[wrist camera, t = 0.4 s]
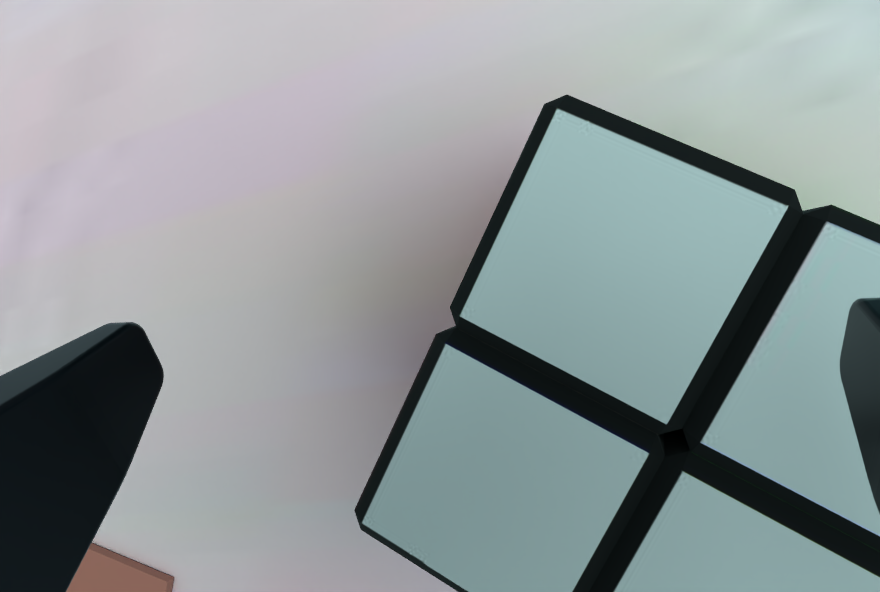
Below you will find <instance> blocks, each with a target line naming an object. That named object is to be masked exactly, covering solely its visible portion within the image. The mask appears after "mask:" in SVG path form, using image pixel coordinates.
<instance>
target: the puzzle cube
mask: <svg viewBox="0 0 880 592" xmlns="http://www.w3.org/2000/svg"><path fill="white" fill-rule="evenodd" d="M878 297H880V225H879V224H876V223H874V222H872V221H869V220H867V219H864V218H862V217H860V216H857V215H855V214H852V213H850V212H848V211H845V210H843V209H840V208H838V207H836V206H833V205H829V206H824V207H819V208H815V209H810V210H805V211H802V209H801V206H800V203H799V200H798V198H797V195H796V192H795V190H794V189H792V188H789V187H787V186H785V185H782V184H780V183H777V182H775V181H773V180H770V179H768V178H765V177H763V176H761V175H758V174H756V173H753V172H751V171H749V170H746V169H744V168H742V167H739V166H737V165H734V164H732V163H730V162H727V161H725V160H722V159H720V158H718V157H715V156H713V155H710V154H708V153H706V152H703V151H701V150H698V149H696V148H694V147H691V146H689V145H686V144H684V143H682V142H679V141H677V140H674V139H672V138H670V137H667V136H665V135H662V134H660V133H658V132H655V131H653V130H650V129H648V128H646V127H643V126H641V125H638V124H636V123H634V122H631V121H629V120H626V119H624V118H622V117H619V116H617V115H614V114H612V113H610V112H607V111H605V110H602V109H600V108H598V107H595V106H593V105H590V104H588V103H586V102H583V101H581V100H578V99H576V98H574V97H571V96H569V95H565V96H563V97H560V98H558V99H555V100H553V101H551V102H548V103H546V104H544V106H543V108H542V110H541V112H540V115H539V117H538V119H537V121H536V123H535V125H534V127H533V130H532V132H531V134H530V136H529V138H528V140H527V142H526V145H525V147H524V149H523V151H522V153H521V155H520V158H519V160H518V162H517V164H516V166H515V168H514V170H513V173H512V175H511V177H510V179H509V181H508V183H507V186H506V188H505V190H504V192H503V194H502V196H501V198H500V201H499V203H498V205H497V207H496V209H495V211H494V213H493V216H492V218H491V220H490V222H489V224H488V226H487V229H486V231H485V233H484V235H483V237H482V239H481V241H480V244H479V246H478V248H477V250H476V252H475V254H474V257H473V259H472V261H471V263H470V265H469V267H468V269H467V272H466V274H465V276H464V278H463V280H462V282H461V284H460V287H459V289H458V291H457V293H456V295H455V297H454V300H453V302H452V304H451V306H450V309H451V312H452V315H453V318H454V321H455V324H456V326H454V327H452V328H450V329H447V330H445V331H442V332H440V333H438V334H436V335H435V338H434V340H433V342H432V344H431V346H430V348H429V350H428V353H427V355H426V357H425V359H424V361H423V363H422V366H421V368H420V370H419V372H418V374H417V376H416V378H415V381H414V383H413V385H412V387H411V389H410V391H409V394H408V396H407V398H406V400H405V402H404V404H403V406H402V409H401V411H400V413H399V415H398V417H397V419H396V422H395V424H394V426H393V428H392V430H391V432H390V434H389V437H388V439H387V441H386V443H385V445H384V447H383V450H382V452H381V454H380V456H379V458H378V460H377V462H376V465H375V467H374V469H373V471H372V473H371V475H370V478H369V480H368V482H367V484H366V486H365V488H364V490H363V493H362V495H361V497H360V499H359V501H358V503H357V506H356V508H355V513H356V516H357V519H358V522H359V525H360V528H361V530H362V531H364V532H366V533H367V534H369V535H370V536H372V537H373V538H375V539H377V540H378V541H380V542H381V543H383V544H384V545H386V546H387V547H389V548H391V549H392V550H394V551H395V552H397V553H398V554H400V555H402V556H403V557H405V558H406V559H408V560H409V561H411V562H413V563H414V564H416V565H417V566H419V567H420V568H422V569H424V570H425V571H427V572H428V573H430V574H431V575H433V576H435V577H436V578H438V579H439V580H441V581H442V582H444V583H446V584H447V585H449V586H450V587H452V588H453V589H455V590H457V591H458V592H880V514H879V511H878V509H877V506H876V503H875V501H874V498H873V494H872V491H871V488H870V484H869V481H868V477H867V474H866V470H865V466H864V463H863V459H862V455H861V451H860V448H859V444H858V440H857V437H856V433H855V429H854V425H853V422H852V418H851V414H850V410H849V407H848V403H847V399H846V396H845V392H844V388H843V384H842V381H841V376H840V355H841V350H842V345H843V340H844V334H845V329H846V324H847V319H848V314H849V310H850V307H851V305H852V304H853V302H854V301H856V300H857V299H859V298H878Z"/></svg>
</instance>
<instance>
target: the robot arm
mask: <svg viewBox="0 0 880 592" xmlns="http://www.w3.org/2000/svg"><path fill="white" fill-rule="evenodd" d="M840 376H841V381H842V384H843V388H844V392H845V396H846V399H847V403H848V407H849V410H850V414H851V418H852V422H853V425H854V429H855V433H856V437H857V440H858V444H859V448H860V451H861V455H862V459H863V463H864V466H865V470H866V474H867V477H868V481H869V484H870V488H871V491H872V494H873V498H874V501H875V503H876V506H877V509H878V511H879V514H880V297H878V298H859V299H857V300H856V301H854V302H853V304H852V305H851V307H850V310H849V314H848V319H847V324H846V329H845V334H844V340H843V345H842V350H841V355H840ZM163 378H164V375H163V368H162V365H161V363H160V361H159V359H158V357H157V355H156V353H155V351H154V349H153V347H152V345H151V343H150V341H149V339H148V337H147V335H146V333H145V331H144V330H143V328H142V327H141V326H140V325H138V324H136V323H133V322H126V323H109V324H106V325H103V326H101V327H99V328H97V329H95V330H93V331H91V332H89V333H87V334H85V335H83V336H81V337H79V338H77V339H75V340H73V341H71V342H69V343H67V344H65V345H63V346H61V347H59V348H57V349H54V350H52V351H50V352H48V353H46V354H44V355H42V356H40V357H38V358H36V359H34V360H32V361H30V362H28V363H26V364H24V365H22V366H20V367H18V368H16V369H14V370H12V371H10V372H8V373H6V374H4V375H2V376H0V592H66V591H67V589H68V587H69V585H70V583H71V581H72V580H73V578H74V576H75V574H76V572H77V570H78V568H79V566H80V564H81V562H82V560H83V558H84V556H85V554H86V552H87V550H88V549H89V547H90V545H91V543H92V541H93V539H94V537H95V535H96V533H97V531H98V529H99V527H100V525H101V523H102V521H103V519H104V518H105V516H106V514H107V512H108V510H109V508H110V506H111V504H112V502H113V500H114V498H115V496H116V494H117V492H118V490H119V488H120V486H121V484H122V482H123V480H124V478H125V476H126V474H127V471H128V469H129V467H130V464H131V462H132V459H133V457H134V454H135V452H136V449H137V447H138V444H139V442H140V439H141V437H142V434H143V432H144V429H145V427H146V424H147V422H148V419H149V417H150V414H151V412H152V409H153V407H154V404H155V402H156V399H157V397H158V394H159V392H160V389H161V387H162V384H163Z"/></svg>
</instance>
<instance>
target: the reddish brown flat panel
mask: <svg viewBox="0 0 880 592" xmlns="http://www.w3.org/2000/svg"><path fill="white" fill-rule="evenodd" d="M173 580H174V577H172V576H169V575H167V574H165V573H162V572H160V571H157V570H155V569H153V568H150V567H148V566H145V565H143V564H141V563H138V562H136V561H133V560H131V559H129V558H126V557H124V556H121V555H119V554H117V553H114V552H112V551H109V550H107V549H105V548H102V547H100V546H97V545H95V544H93V543H91V545H90V547H89V549H88V550H87V552H86V554H85V556H84V558H83V560H82V562H81V564H80V566H79V568H78V570H77V572H76V574H75V576H74V578H73V580H72V581H71V583H70V585H69V587H68V589H67V591H66V592H172V586H173Z"/></svg>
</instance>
